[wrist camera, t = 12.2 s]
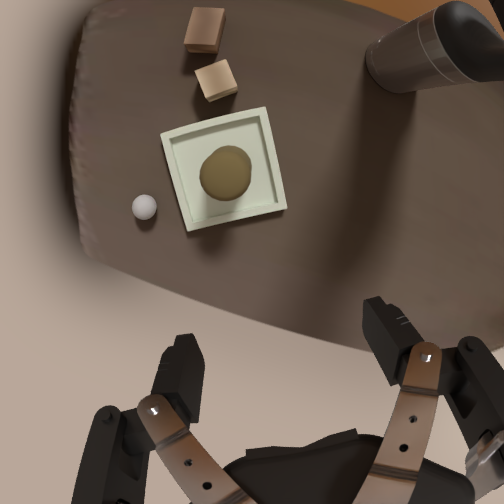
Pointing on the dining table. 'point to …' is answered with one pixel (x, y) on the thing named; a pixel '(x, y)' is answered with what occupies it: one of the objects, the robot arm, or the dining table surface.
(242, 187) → the cork
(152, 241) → the dining table surface
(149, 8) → the dining table surface
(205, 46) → the walnut block
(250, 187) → the tray
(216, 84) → the maple block
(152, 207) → the grey ball
